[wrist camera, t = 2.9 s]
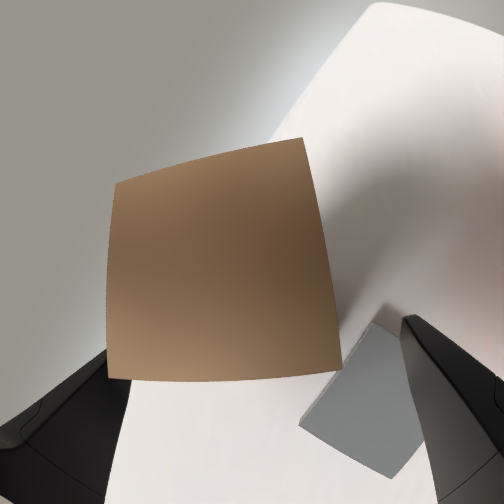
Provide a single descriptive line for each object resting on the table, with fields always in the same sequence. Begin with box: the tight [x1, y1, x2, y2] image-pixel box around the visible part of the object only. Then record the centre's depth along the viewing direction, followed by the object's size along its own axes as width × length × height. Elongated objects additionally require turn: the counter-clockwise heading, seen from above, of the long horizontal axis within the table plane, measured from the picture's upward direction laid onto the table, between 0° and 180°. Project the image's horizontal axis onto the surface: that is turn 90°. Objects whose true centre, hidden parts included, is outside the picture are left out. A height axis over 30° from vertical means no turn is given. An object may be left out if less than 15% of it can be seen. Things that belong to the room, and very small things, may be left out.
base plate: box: [299, 322, 424, 479], centre depth 14 cm, size 7×7×2 cm
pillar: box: [106, 137, 343, 382], centre depth 11 cm, size 4×4×13 cm
